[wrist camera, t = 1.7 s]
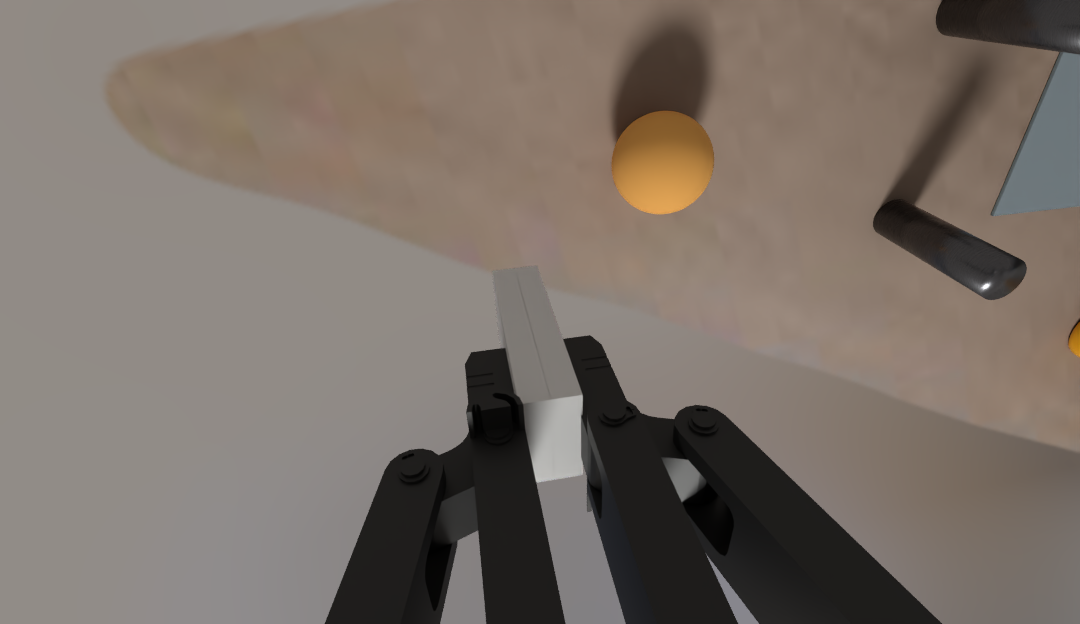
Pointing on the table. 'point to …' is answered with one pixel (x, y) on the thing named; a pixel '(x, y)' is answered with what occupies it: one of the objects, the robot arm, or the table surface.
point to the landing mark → (1048, 148)
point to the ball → (662, 162)
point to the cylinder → (1075, 340)
